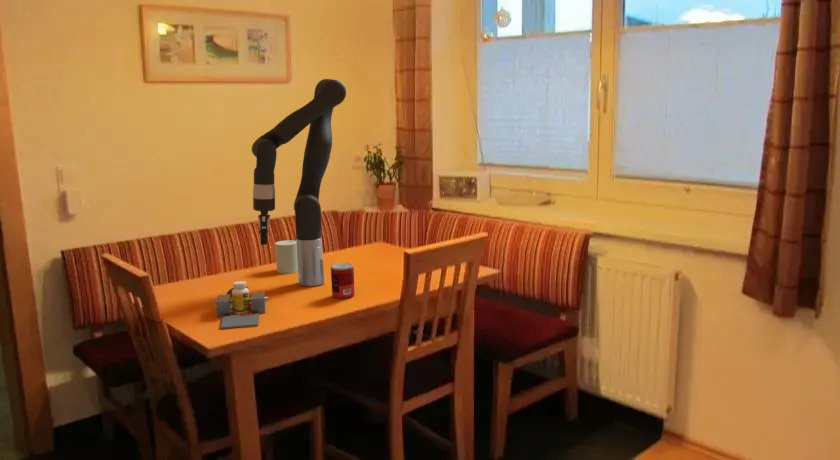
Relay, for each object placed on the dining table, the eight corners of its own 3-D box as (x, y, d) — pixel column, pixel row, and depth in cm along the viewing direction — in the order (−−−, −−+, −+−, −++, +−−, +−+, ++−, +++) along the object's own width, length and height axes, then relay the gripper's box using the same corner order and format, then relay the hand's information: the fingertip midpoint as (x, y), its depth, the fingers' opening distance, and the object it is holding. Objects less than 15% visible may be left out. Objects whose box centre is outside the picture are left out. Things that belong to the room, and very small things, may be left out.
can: (304, 269, 282) (303, 240, 280) (289, 274, 274) (287, 244, 272) (287, 266, 287) (285, 238, 284) (271, 272, 279) (269, 242, 277)
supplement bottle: (245, 314, 226) (243, 285, 224) (230, 313, 227) (227, 284, 225) (253, 309, 231) (250, 280, 230) (237, 308, 233) (235, 280, 231)
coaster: (258, 315, 225) (258, 313, 225) (257, 325, 215) (257, 324, 214) (223, 318, 223) (223, 316, 223) (220, 329, 212) (220, 327, 212)
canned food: (358, 293, 246) (357, 263, 244) (348, 300, 239) (347, 268, 237) (338, 292, 249) (337, 262, 246) (328, 298, 241) (326, 267, 239)
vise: (268, 303, 237) (267, 289, 236) (268, 312, 227) (267, 298, 226) (216, 308, 234) (215, 293, 233) (213, 317, 224) (212, 302, 223)
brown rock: (238, 303, 238) (237, 289, 238) (222, 301, 241) (221, 287, 240) (252, 296, 246) (251, 282, 245) (236, 295, 248) (235, 281, 248)
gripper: (274, 199, 239) (274, 246, 242) (275, 193, 253) (275, 238, 256) (252, 199, 238) (252, 246, 241) (253, 193, 252) (253, 238, 255)
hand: (264, 242), depth 249 cm, fingers open, 8 cm apart
